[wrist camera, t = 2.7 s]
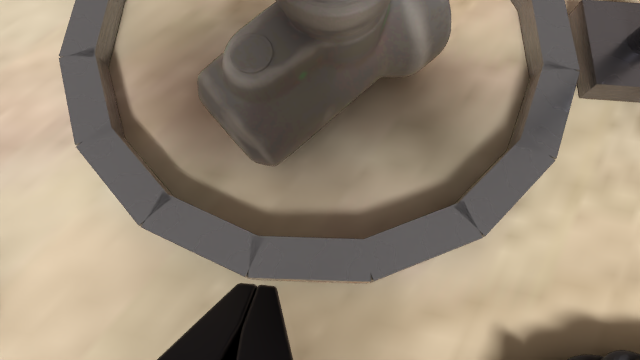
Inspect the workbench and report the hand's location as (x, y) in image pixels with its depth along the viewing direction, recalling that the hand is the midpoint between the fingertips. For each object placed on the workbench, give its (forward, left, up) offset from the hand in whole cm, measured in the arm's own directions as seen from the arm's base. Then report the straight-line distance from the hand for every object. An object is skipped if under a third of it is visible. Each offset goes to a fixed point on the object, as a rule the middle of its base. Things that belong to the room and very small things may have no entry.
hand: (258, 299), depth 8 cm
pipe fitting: (+8, -9, -11) cm, 17 cm away
